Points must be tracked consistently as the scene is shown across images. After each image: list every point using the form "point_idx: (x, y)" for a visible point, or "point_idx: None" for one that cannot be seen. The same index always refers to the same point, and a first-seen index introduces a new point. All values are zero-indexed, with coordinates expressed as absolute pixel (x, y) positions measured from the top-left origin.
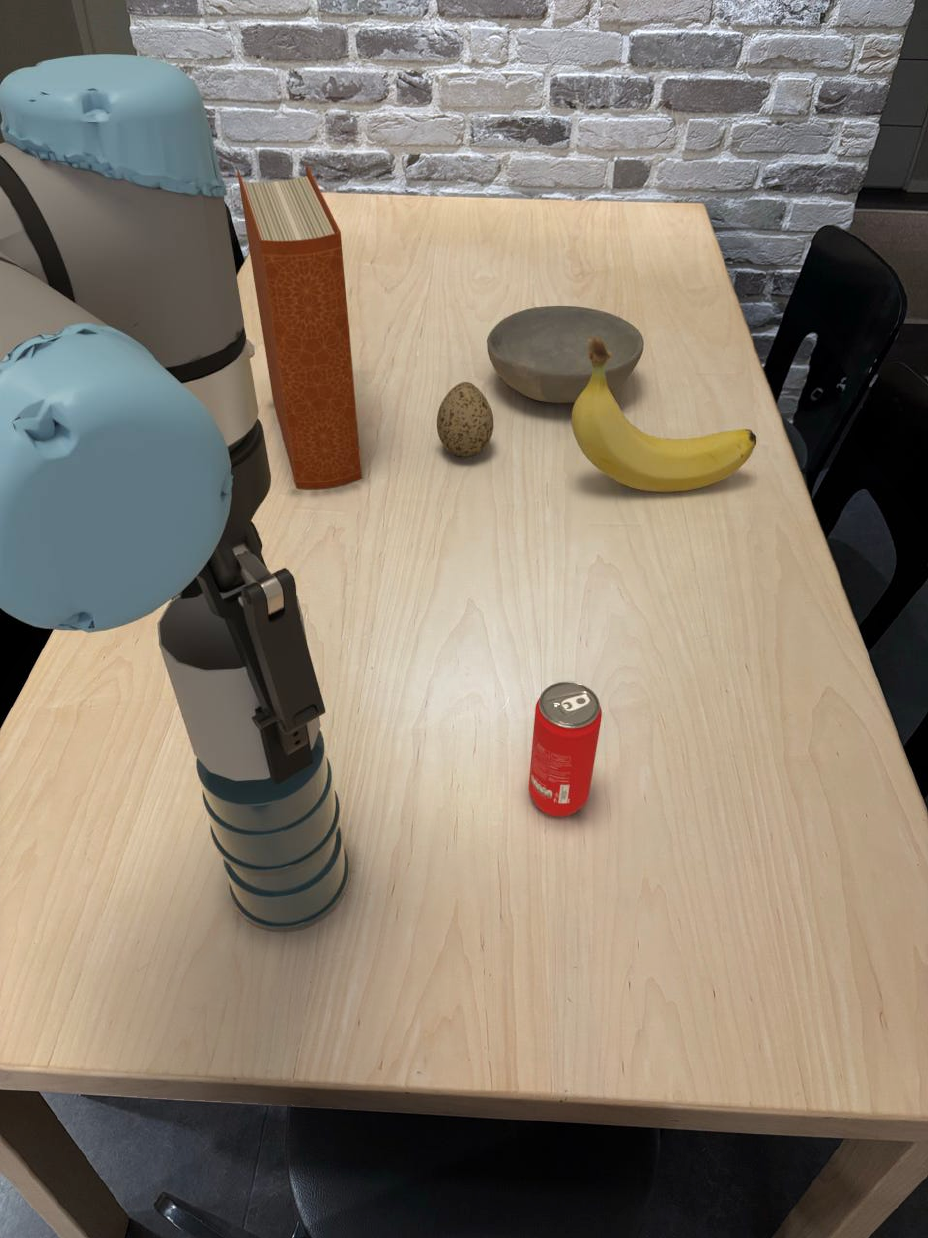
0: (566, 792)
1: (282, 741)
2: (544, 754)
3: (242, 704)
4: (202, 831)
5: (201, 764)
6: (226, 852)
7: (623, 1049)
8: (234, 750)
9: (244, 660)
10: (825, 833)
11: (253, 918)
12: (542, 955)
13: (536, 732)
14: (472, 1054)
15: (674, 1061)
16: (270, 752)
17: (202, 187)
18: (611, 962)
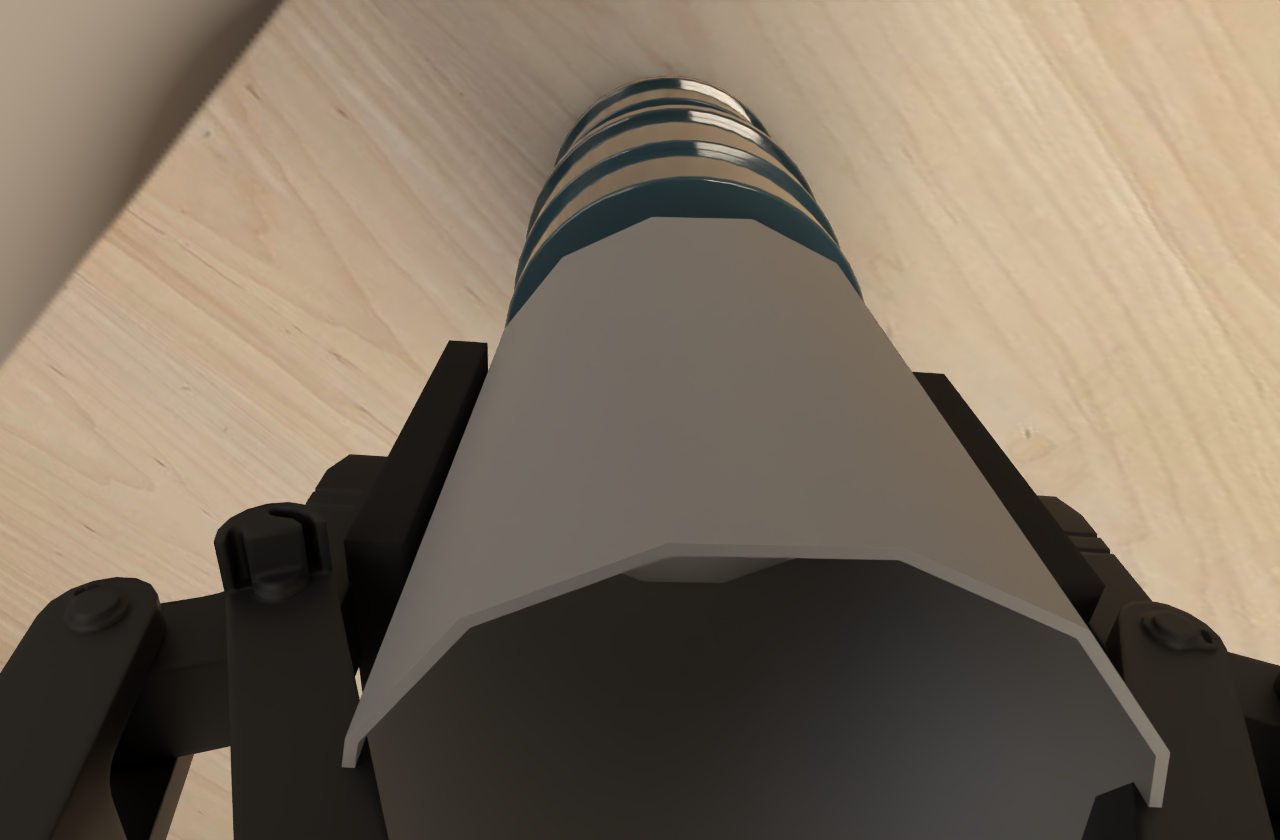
0: None
1: (347, 489)
2: None
3: (429, 534)
4: (887, 129)
5: (777, 216)
6: (661, 118)
7: (79, 389)
8: (528, 334)
9: (315, 825)
10: (207, 769)
11: (632, 88)
12: (269, 409)
13: None
14: (187, 221)
15: (30, 425)
16: (408, 420)
17: None
18: (202, 469)
